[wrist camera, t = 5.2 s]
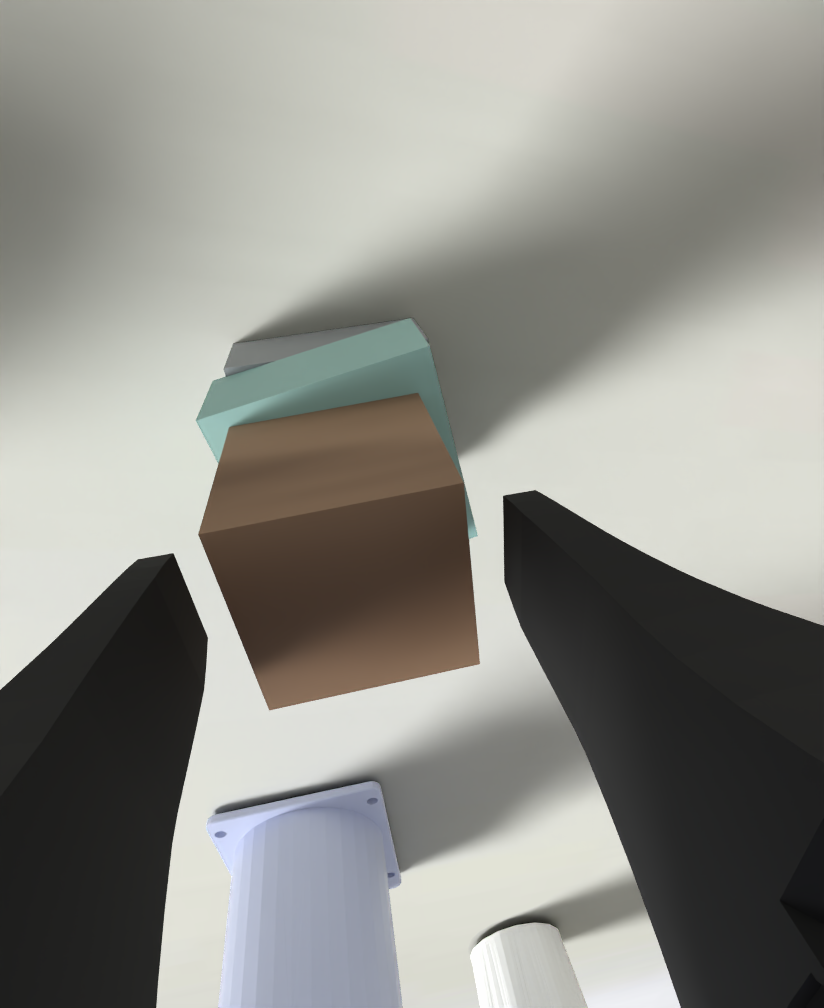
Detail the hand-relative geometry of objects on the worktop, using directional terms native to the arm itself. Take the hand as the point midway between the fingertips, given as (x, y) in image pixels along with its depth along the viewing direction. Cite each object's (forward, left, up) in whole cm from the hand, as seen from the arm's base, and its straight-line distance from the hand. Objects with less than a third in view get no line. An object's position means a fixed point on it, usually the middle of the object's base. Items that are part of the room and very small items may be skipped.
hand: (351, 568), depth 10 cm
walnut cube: (0, 0, -3) cm, 3 cm away
